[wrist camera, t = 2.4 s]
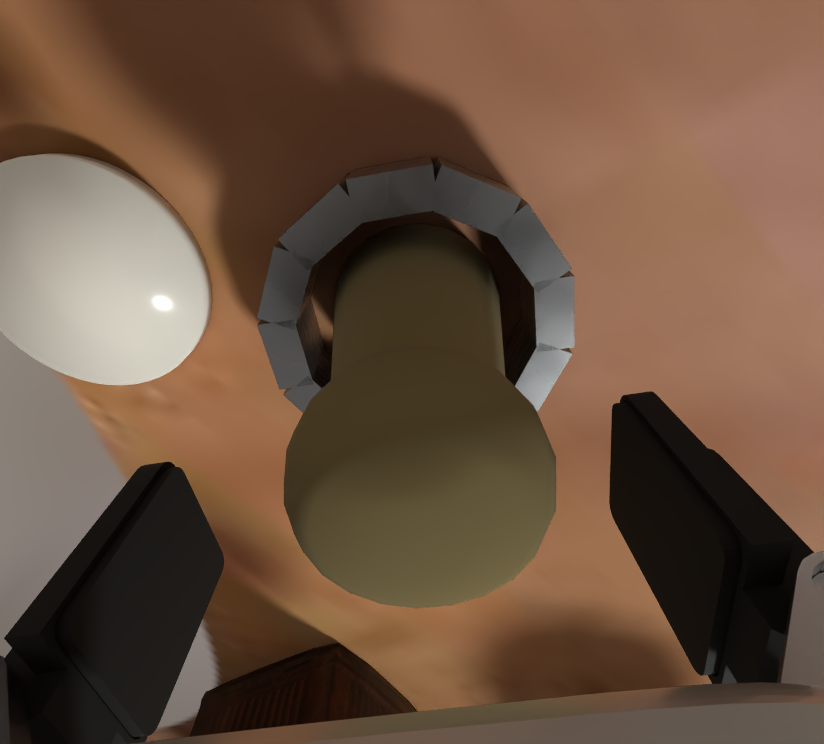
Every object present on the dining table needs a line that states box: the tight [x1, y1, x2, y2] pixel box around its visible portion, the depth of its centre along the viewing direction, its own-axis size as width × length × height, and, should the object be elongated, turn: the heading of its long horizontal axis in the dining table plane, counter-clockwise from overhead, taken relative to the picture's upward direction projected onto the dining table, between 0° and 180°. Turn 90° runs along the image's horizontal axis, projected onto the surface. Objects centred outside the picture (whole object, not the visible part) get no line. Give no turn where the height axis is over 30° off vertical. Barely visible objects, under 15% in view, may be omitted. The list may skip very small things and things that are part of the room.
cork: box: [284, 223, 556, 608], centre depth 13 cm, size 6×6×11 cm
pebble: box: [0, 153, 212, 385], centre depth 17 cm, size 8×8×1 cm
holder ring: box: [257, 156, 574, 413], centre depth 16 cm, size 10×10×2 cm
